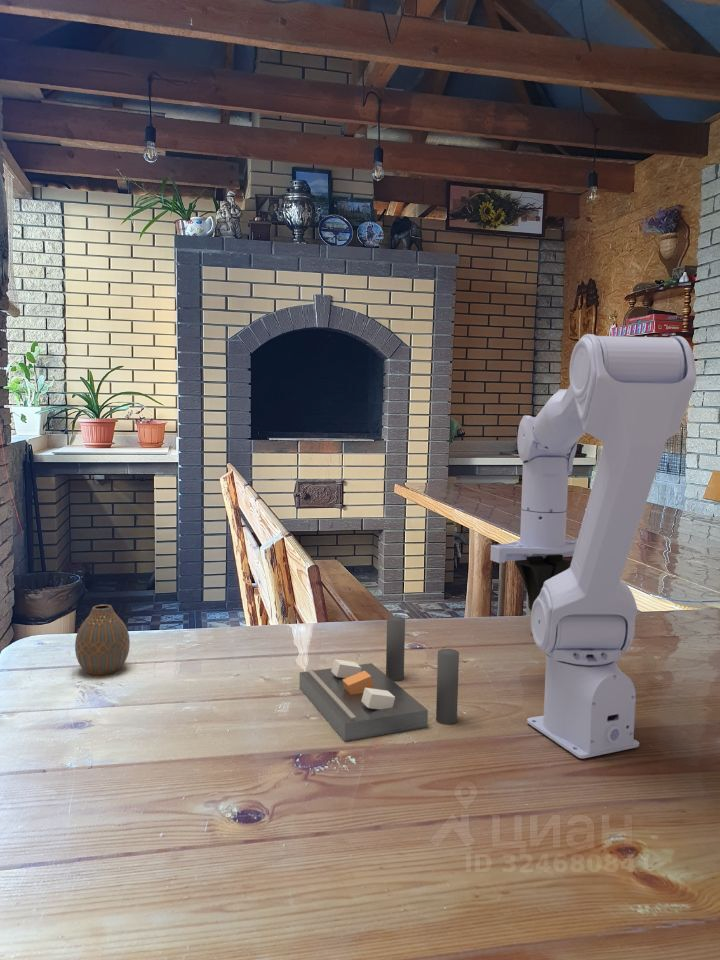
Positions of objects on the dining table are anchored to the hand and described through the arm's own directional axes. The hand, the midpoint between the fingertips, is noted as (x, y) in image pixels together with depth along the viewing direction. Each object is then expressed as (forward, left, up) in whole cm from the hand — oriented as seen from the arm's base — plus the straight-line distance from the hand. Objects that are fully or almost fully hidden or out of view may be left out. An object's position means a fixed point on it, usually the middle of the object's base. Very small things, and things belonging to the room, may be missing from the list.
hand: (539, 612), depth 93 cm
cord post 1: (+8, +17, -9) cm, 21 cm away
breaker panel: (+1, +25, -9) cm, 27 cm away
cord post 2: (-6, +17, -9) cm, 20 cm away
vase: (+24, +53, -10) cm, 59 cm away
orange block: (+1, +25, -7) cm, 26 cm away
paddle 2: (-4, +25, -7) cm, 26 cm away
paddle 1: (+6, +25, -7) cm, 27 cm away
